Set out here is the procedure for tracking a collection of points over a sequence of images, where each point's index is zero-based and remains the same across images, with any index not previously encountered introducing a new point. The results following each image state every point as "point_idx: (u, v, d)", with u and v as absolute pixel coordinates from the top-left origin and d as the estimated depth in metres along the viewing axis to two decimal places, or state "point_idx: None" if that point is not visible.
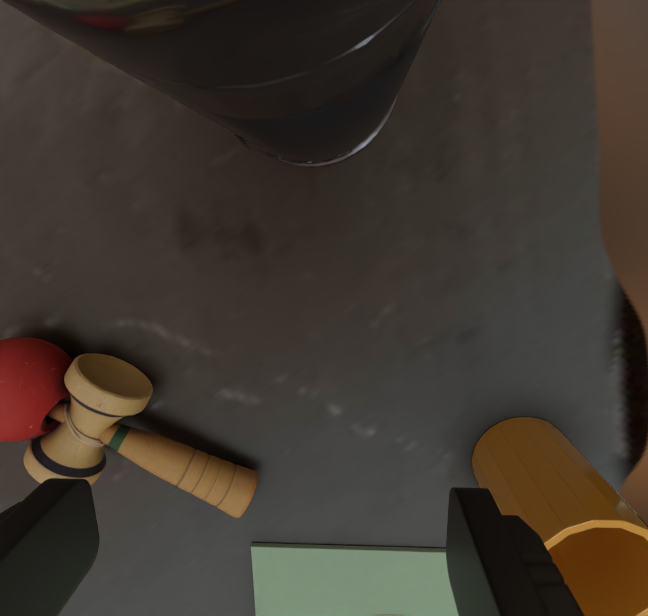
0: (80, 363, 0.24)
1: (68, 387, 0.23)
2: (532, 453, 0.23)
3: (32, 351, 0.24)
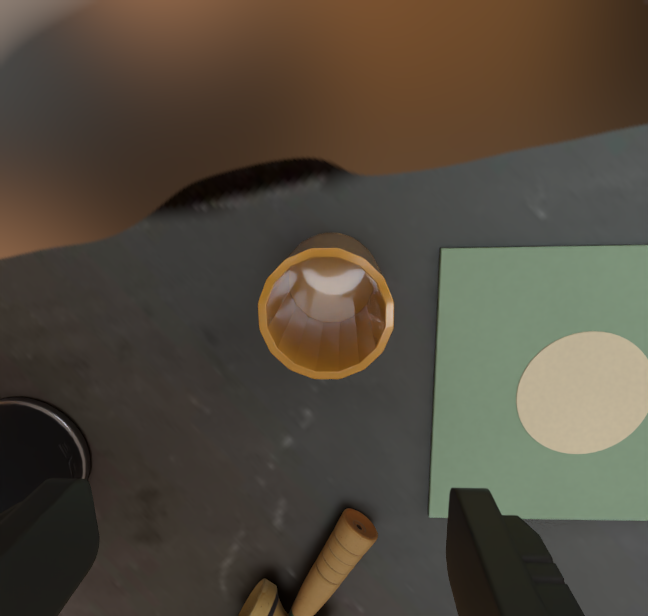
0: None
1: None
2: None
3: None
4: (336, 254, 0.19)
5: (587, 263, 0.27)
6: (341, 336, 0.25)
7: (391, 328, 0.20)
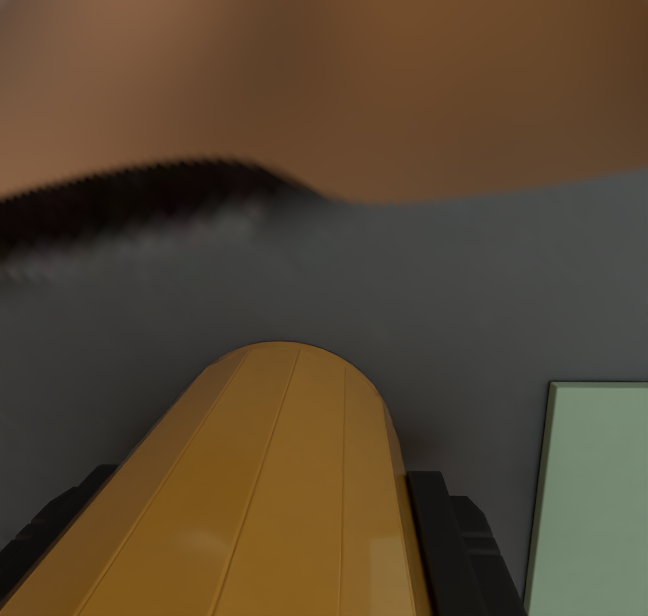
0: None
1: None
2: None
3: None
4: None
5: None
6: None
7: None
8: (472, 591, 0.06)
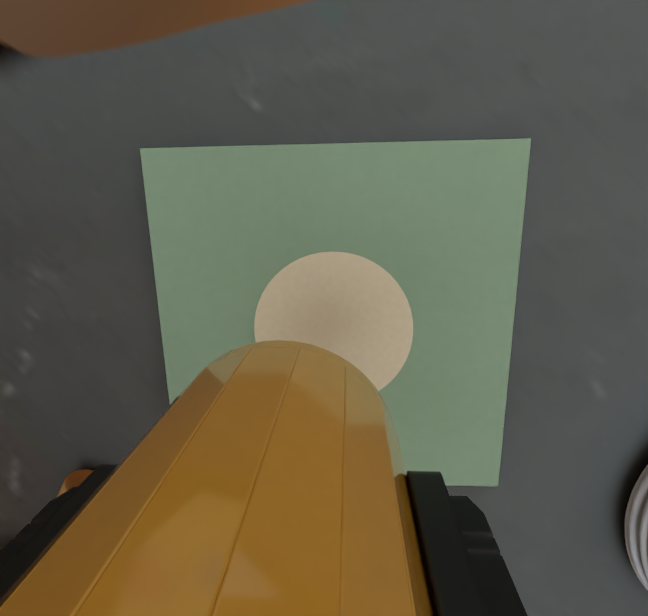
0: None
1: None
2: None
3: None
4: None
5: (314, 166, 0.22)
6: None
7: None
8: (472, 591, 0.06)
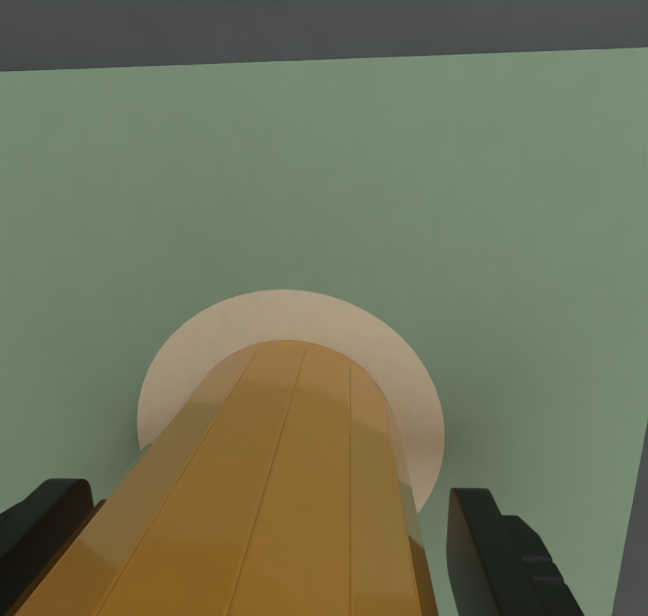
0: None
1: None
2: None
3: None
4: None
5: (239, 112, 0.10)
6: None
7: None
8: None
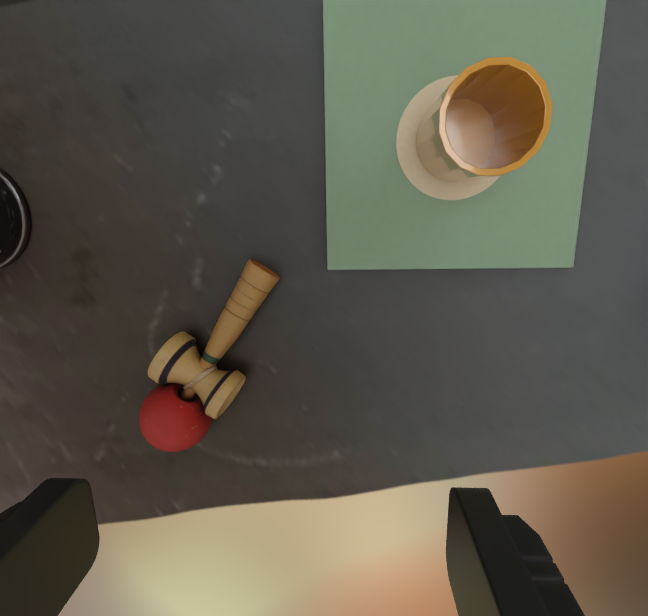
0: None
1: (156, 379, 0.35)
2: (425, 150, 0.30)
3: None
4: (509, 62, 0.23)
5: (449, 8, 0.31)
6: None
7: (548, 128, 0.24)
8: None
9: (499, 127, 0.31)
